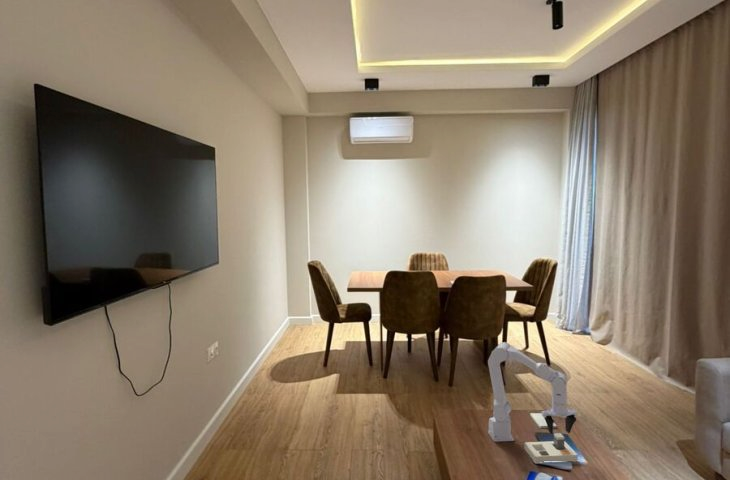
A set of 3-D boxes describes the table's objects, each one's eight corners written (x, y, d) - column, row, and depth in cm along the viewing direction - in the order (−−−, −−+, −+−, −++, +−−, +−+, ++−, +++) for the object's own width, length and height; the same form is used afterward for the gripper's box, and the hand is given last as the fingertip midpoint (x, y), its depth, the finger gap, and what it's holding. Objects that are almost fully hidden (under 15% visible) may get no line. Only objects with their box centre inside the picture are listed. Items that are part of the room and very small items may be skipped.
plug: (557, 455, 162) (557, 437, 162) (553, 451, 165) (553, 433, 165) (564, 455, 162) (564, 437, 162) (560, 450, 165) (560, 433, 165)
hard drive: (557, 425, 183) (546, 412, 195) (540, 426, 183) (530, 412, 195) (557, 429, 183) (546, 415, 195) (540, 429, 183) (530, 416, 196)
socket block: (535, 463, 157) (535, 455, 157) (524, 448, 167) (524, 441, 167) (577, 461, 157) (577, 454, 157) (564, 447, 167) (564, 440, 167)
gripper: (547, 406, 158) (547, 438, 159) (581, 405, 158) (581, 436, 159) (539, 398, 165) (539, 428, 166) (571, 397, 165) (571, 427, 166)
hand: (559, 432), depth 163 cm, fingers open, 7 cm apart
